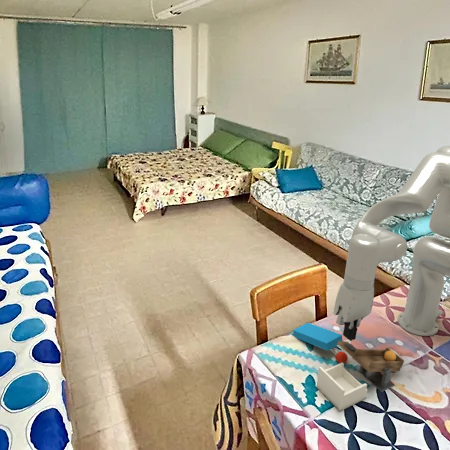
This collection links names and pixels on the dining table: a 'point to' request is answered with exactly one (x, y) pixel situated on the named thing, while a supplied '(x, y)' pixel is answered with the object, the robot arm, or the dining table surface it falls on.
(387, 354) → the ball
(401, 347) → the dining table surface
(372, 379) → the stand
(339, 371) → the box
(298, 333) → the lever
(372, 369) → the brown shallow tray
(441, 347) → the dining table surface
